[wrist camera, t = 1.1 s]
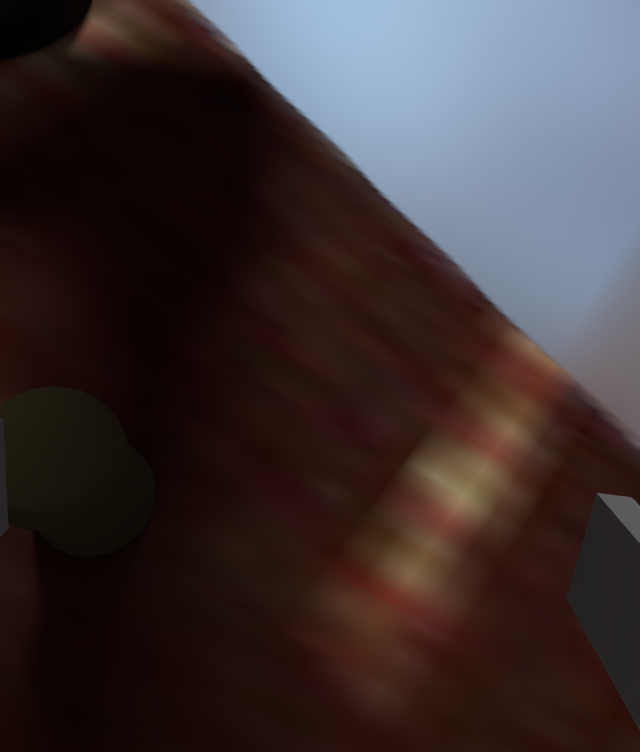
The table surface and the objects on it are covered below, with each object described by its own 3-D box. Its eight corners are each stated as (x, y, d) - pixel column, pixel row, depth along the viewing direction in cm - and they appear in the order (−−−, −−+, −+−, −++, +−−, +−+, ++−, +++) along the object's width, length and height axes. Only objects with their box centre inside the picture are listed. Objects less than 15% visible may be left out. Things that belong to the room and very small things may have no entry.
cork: (2, 511, 29) (-104, 469, 19) (86, 415, 31) (33, 330, 21) (103, 582, 29) (51, 579, 18) (180, 479, 31) (172, 426, 21)
